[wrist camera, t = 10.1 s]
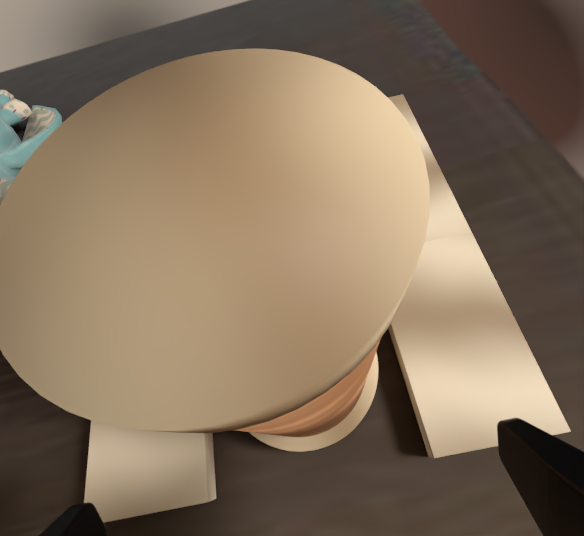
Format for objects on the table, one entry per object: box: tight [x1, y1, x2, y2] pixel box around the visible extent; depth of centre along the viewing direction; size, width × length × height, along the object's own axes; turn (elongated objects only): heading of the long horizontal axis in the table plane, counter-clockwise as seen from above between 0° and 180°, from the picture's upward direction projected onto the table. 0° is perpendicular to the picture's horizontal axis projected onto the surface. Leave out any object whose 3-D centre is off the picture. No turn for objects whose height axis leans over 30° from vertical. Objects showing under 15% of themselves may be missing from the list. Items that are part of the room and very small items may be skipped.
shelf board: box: [84, 94, 571, 523], centre depth 18 cm, size 20×19×1 cm
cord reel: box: [0, 49, 430, 452], centre depth 10 cm, size 7×7×13 cm
